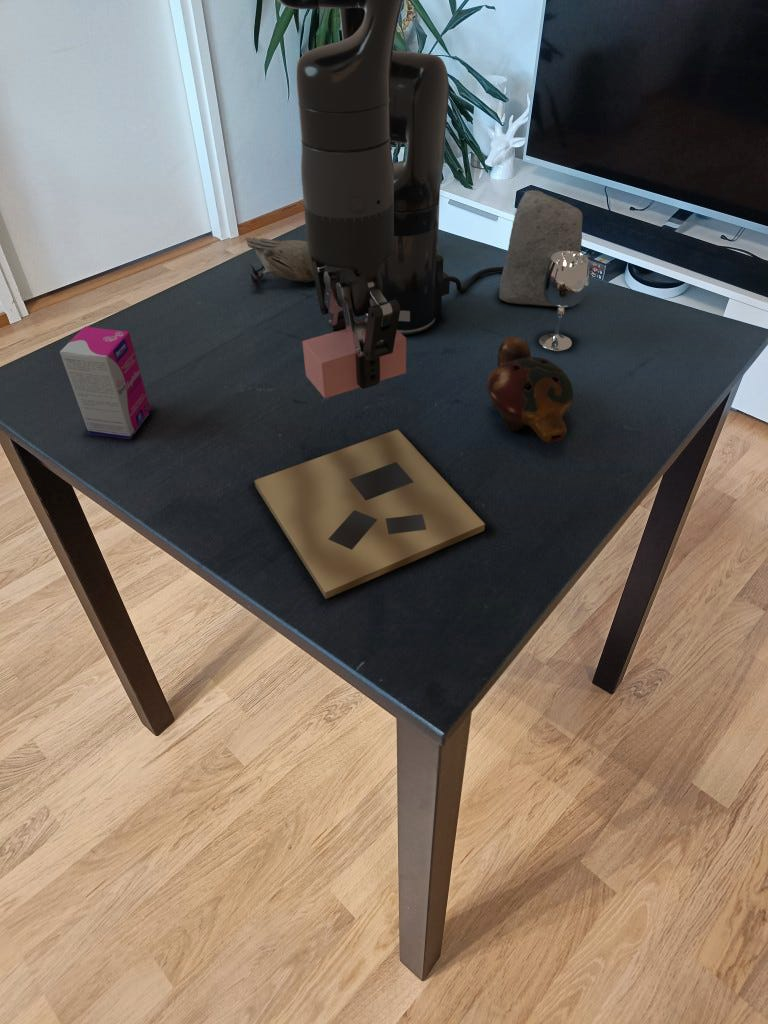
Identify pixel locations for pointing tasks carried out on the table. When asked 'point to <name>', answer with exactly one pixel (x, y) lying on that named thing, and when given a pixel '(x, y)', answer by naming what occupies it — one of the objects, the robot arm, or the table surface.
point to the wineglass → (564, 291)
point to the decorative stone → (537, 245)
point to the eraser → (345, 361)
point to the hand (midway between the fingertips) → (356, 371)
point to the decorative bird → (282, 259)
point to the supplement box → (106, 382)
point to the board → (366, 511)
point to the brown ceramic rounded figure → (530, 391)
